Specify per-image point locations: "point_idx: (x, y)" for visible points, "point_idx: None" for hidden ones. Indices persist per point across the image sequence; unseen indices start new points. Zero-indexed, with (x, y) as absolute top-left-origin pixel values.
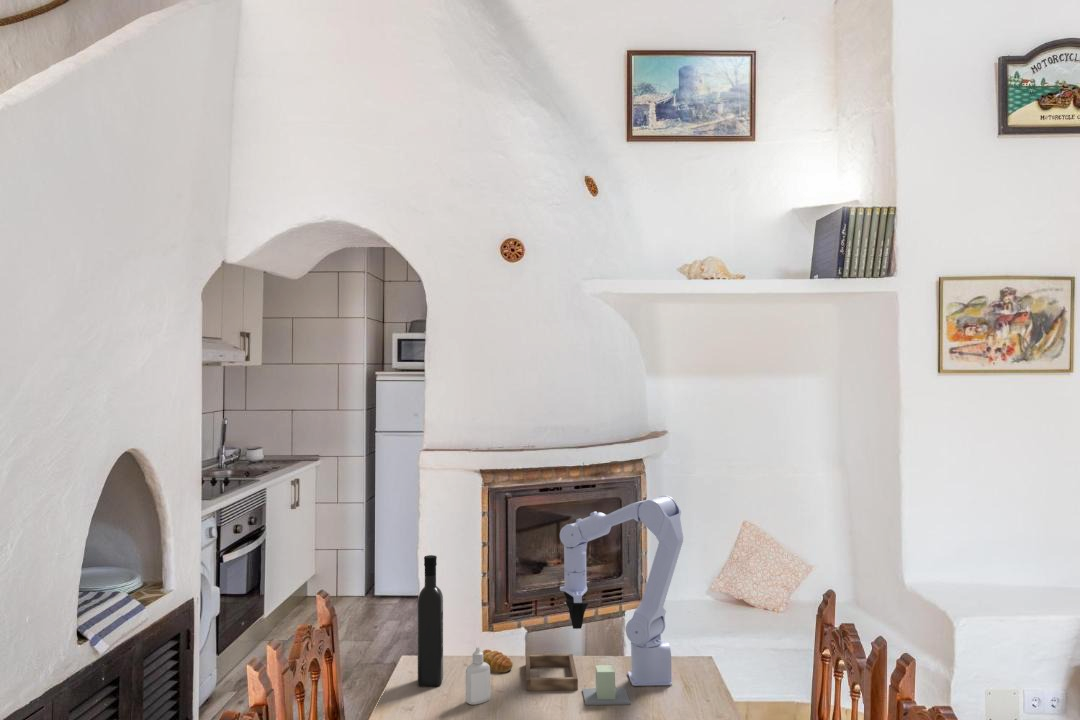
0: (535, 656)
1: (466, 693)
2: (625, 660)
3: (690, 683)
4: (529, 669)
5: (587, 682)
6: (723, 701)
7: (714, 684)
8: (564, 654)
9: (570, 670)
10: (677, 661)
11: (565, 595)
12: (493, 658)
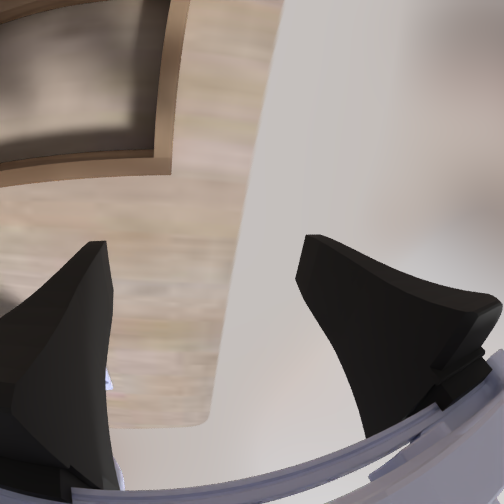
0: (169, 8)
1: None
2: (193, 324)
3: None
4: (24, 1)
5: (12, 212)
6: None
7: None
8: (170, 138)
9: (72, 155)
10: (183, 402)
11: (443, 311)
12: None
